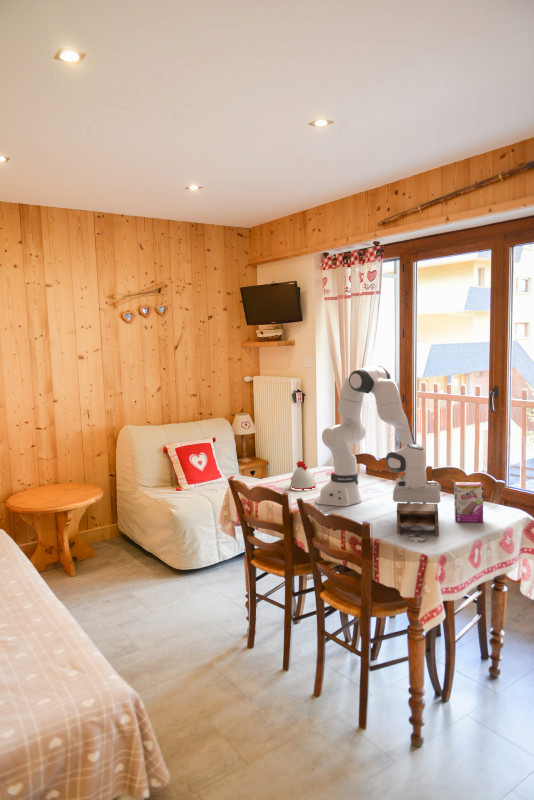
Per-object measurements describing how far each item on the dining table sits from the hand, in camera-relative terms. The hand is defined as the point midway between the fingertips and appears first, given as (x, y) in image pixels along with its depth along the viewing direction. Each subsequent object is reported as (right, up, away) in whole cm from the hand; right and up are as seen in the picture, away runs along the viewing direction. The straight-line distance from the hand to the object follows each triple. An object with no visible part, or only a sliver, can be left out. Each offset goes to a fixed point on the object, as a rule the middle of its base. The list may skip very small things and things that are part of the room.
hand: (416, 511), depth 240 cm
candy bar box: (+20, -2, -8) cm, 22 cm away
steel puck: (-7, -6, -26) cm, 27 cm away
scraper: (-2, -3, -7) cm, 8 cm away
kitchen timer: (-46, +1, +60) cm, 76 cm away
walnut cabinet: (-4, -5, -17) cm, 18 cm away
